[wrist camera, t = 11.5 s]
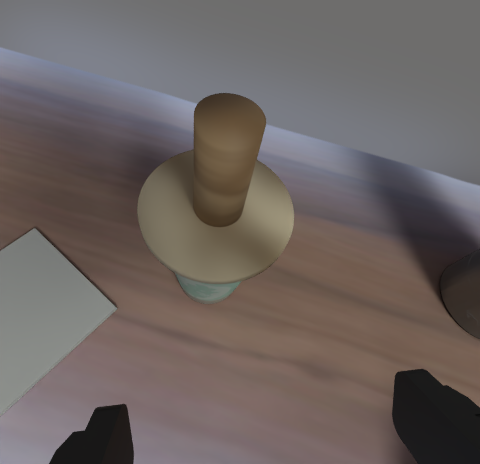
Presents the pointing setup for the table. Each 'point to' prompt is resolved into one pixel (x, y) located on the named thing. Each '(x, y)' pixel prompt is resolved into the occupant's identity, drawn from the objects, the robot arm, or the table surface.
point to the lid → (217, 199)
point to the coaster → (41, 313)
